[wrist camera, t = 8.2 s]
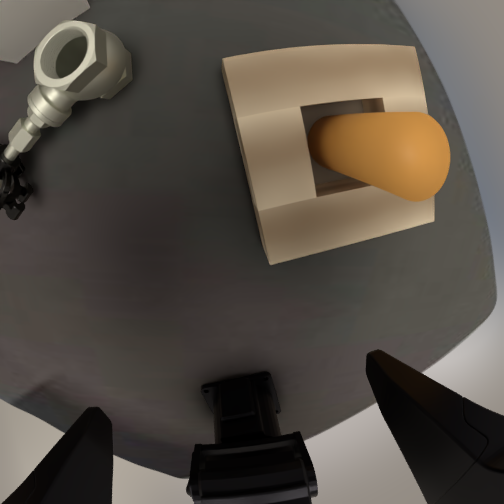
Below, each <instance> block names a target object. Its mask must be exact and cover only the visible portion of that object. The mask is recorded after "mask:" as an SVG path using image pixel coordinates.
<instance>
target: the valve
mask: <svg viewBox="0 0 504 504" xmlns="http://www.w3.org/2000/svg"><path fill="white" fill-rule="evenodd" d="M34 76H35V82H36V84H38V85H37V86H36V87H35V88H34V89H33V90H32V92H31V93H30V94H29V95H28V99H27V100H28V104H29V107H28V117H27V118H20V119H19V120H18V121H17V123H16V124H15V125H14V127H13V128H12V130H11V131H10V132H9V142H10V143H9V145H2V144H0V210H1V208H4V209H5V210H6V214H7V216H8V217H9V218H10V219H12V220H17V219H18V218H19V216H20V215H21V214H22V212H23V211H24V209H25V204H24V203H25V202H26V201H27V200H28V198H29V197H30V196H31V194H32V193H33V188H32V186H31V185H30V184H29V183H26V184H25V186H24V187H23V186H20V182H19V177H20V176H21V175H22V173H23V172H24V170H25V167H24V166H23V164H22V163H21V159H20V157H19V155H18V154H19V153H20V152H27V151H29V150H30V149H31V148H32V146H33V145H34V144H35V143H36V141H37V140H38V139H39V138H40V136H41V134H40V130H39V129H40V128H47V127H49V126H52V127H59V126H61V125H62V123H63V122H64V121H65V120H66V119H67V118H68V117H69V116H70V115H71V113H72V109H71V107H72V105H73V104H74V103H75V102H77V101H78V100H91V99H95V98H98V97H100V98H104V99H109V100H110V99H111V98H112V97H113V96H115V95H116V94H117V93H118V92H119V91H120V90H121V89H123V88H124V87H125V86H126V85H127V84H129V83H130V82H131V81H132V80H133V75H132V61H131V53H130V52H129V51H128V50H127V49H125V48H124V46H123V44H122V42H121V41H120V39H119V38H118V37H117V36H116V35H114V34H113V33H111V32H109V31H107V30H103V29H101V28H99V27H98V26H97V25H95V24H91V23H86V22H81V21H74V20H63V21H62V22H61V23H59V24H58V25H57V26H56V27H55V28H53V29H52V30H51V31H50V32H49V33H48V34H47V35H46V36H45V37H44V38H43V40H42V41H41V42H40V43H39V44H38V46H37V47H36V49H35V54H34ZM9 191H10V194H8V193H9ZM16 198H17V200H18V201H20V202H21V203H20V204H17V202H16Z"/></svg>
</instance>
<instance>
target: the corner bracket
mask: <svg viewBox="0 0 504 504" xmlns="http://www.w3.org/2000/svg"><path fill="white" fill-rule="evenodd" d="M89 8H90V6H89V3H88V1H87V0H0V60H2V61H7V62H12V63H18V62H19V61H20V60H21V59H22V58H24V57H25V56H26V55H27V54H28V53H29V52H30V51H32V50H33V49H34V48H35V47H36V46H38V44H39V43H40V42H41V41H42V40H43V38H44V37H45V36H46V35H47V34H48V33H49V32H50V31H51V30H52V29H53V28H55V27H56V26H57V25H58V24H59V23H61V22H62V21H63V20H72V19H74V18H75V17H77V16H78V15H80V14H81V13H83V12H85V11H86V10H88V9H89Z"/></svg>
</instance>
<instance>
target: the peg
mask: <svg viewBox="0 0 504 504" xmlns="http://www.w3.org/2000/svg"><path fill="white" fill-rule="evenodd" d="M307 142H308V149H309V152H310V154H311V156H312V158H313V159H314V160H315V161H316V162H317V163H318V164H319V165H321V166H322V167H325V168H327V169H330V170H333V171H336V172H338V173H341V174H344V175H346V176H349V177H352V178H354V179H357V180H360V181H362V182H365V183H367V184H370V185H372V186H375V187H377V188H380V189H382V190H385V191H387V192H389V193H392V194H394V195H396V196H399V197H401V198H403V199H406V200H408V201H413V202H419V201H424V200H427V199H429V198H431V197H432V196H433V195H435V194H436V193H437V192H438V191H439V189H440V188H441V187H442V185H443V184H444V182H445V180H446V177H447V174H448V171H449V165H450V149H449V144H448V140H447V137H446V135H445V133H444V131H443V129H442V127H441V126H440V125H439V123H438V122H437V121H436V120H435V119H433V118H432V117H431V116H429V115H427V114H425V113H421V112H376V113H356V114H342V115H330V116H325V117H322V118H320V119H319V120H317V121H316V122H315V123H314V124H313V126H312V127H311V129H310V131H309V134H308V140H307Z"/></svg>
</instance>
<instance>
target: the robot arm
mask: <svg viewBox="0 0 504 504" xmlns="http://www.w3.org/2000/svg"><path fill="white" fill-rule="evenodd" d="M366 375H367V378H368V380H369V383H370V385H371V388H372V390H373V393H374V396H375V398H376V401H377V403H378V406H379V409H380V411H381V413H382V415H383V417H384V420H385V421H386V423H387V425H388V427H389V429H390V430H391V433H392V435H393V437H394V438H395V440H396V442H397V444H398V446H399V448H400V450H401V452H402V454H403V455H404V457H405V460H406V462H407V464H408V465H409V468H410V469H411V471H412V473H413V475H414V477H415V479H416V481H417V483H418V485H419V487H420V489H421V491H422V493H423V496H424V497H425V500H426V502H427V504H504V416H503V415H501V414H498V413H496V412H493V411H491V410H489V409H486V408H484V407H482V406H480V405H478V404H476V403H474V402H472V401H470V400H469V399H467V398H465V397H462V396H461V395H459V394H457V393H456V392H454V391H452V390H450V389H449V388H447V387H445V386H443V385H441V384H440V383H438V382H436V381H434V380H432V379H431V378H429V377H427V376H426V375H424V374H422V373H420V372H418V371H417V370H415V369H413V368H411V367H410V366H408V365H406V364H404V363H403V362H401V361H399V360H397V359H396V358H394V357H392V356H390V355H389V354H387V353H385V352H384V351H382V350H379V349H377V350H374V351H371V352H369V353H368V354H367V356H366ZM265 377H266V378H265ZM201 393H202V395H203V396H204V398H205V400H206V402H207V404H208V405H209V407H210V409H211V411H212V413H213V414H214V433H215V444H205V445H202V444H195V448H194V452H193V453H192V461H191V470H190V478H189V481H188V485H187V487H186V492H187V494H188V495H189V496H190V497H192V499H193V501H194V504H312V502H311V498H312V497H316V496H317V494H318V487H317V480H316V475H315V471H314V467H313V464H312V461H311V458H310V456H309V453H308V451H307V449H306V446H305V443H304V441H303V438H302V436H301V433H300V431H297V432H293V433H292V434H286V435H281V432H280V428H279V424H278V419H277V415H276V414H279V413H280V412H281V410H280V406H279V402H278V399H277V395H276V392H275V388H274V385H273V381H272V378H271V374H270V373H268V372H264V373H259V374H255V375H251V376H246V377H242V378H237V379H233V380H228V381H223V382H218V383H212V384H207V385H203V386H202V387H201ZM112 478H113V440H112V423H111V421H110V419H109V418H108V417H107V416H106V414H105V413H104V412H103V411H102V410H101V409H100V408H99V407H88V408H87V409H86V410H85V411H84V412H83V414H82V415H81V416H80V417H79V418H78V419H77V420H76V422H75V423H74V424H73V425H72V426H71V427H70V428H69V430H68V431H67V432H66V433H65V434H64V435H63V436H62V438H61V439H60V440H59V441H58V442H57V443H56V445H55V446H54V447H53V448H52V449H51V450H50V451H49V453H48V454H47V455H46V456H45V457H44V458H43V460H42V461H41V462H40V463H39V464H38V465H37V467H36V468H35V469H34V471H32V472H31V474H30V475H29V476H28V477H27V478H26V480H25V481H24V482H23V483H22V484H21V485H20V486H19V487H18V488H17V489H16V490H15V491H14V492H13V493H12V494H11V495H10V496H9V497H8V498H7V499H6V500H5V501H4V502H3V503H2V504H112V480H113V479H112Z"/></svg>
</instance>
